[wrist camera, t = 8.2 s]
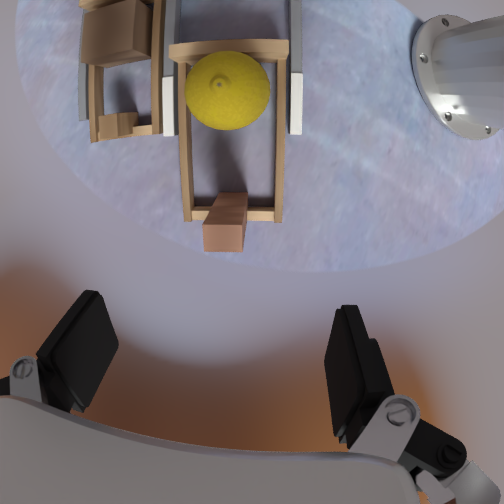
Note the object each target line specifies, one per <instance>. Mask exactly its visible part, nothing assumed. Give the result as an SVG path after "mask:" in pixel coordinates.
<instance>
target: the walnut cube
mask: <svg viewBox="0 0 504 504" xmlns="http://www.w3.org/2000/svg"><path fill="white" fill-rule="evenodd" d="M152 27H153V11H152V10H151V9H150V8H148V7H147V6H146V5H145V4H143V3H142V2H141V1H140V0H125V1H122V2H118V3H115V4H112V5H108V6H105V7H102V8H99V9H96V10H93V11H91V12H88V13H85V14H84V23H83V33H82V45H81V63H85V64H90V65H96V66H101V67H106V68H109V67H113V66H117V65H122V64H126V63H131V62H136V61H141V60H147V59H151V49H152Z"/></svg>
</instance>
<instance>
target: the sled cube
mask: <svg viewBox="0 0 504 504" xmlns="http://www.w3.org/2000/svg"><path fill="white" fill-rule="evenodd" d="M122 1H125V0H79V7H81V8H83V9H86V10H88V11H90V12H91V11H93V10H96V9H99V8H102V7H105V6H108V5H112V4H115V3H118V2H122ZM140 1H141V2H142V3H143V4H150V3H154V11H153V27H152V49H151V114H152V125H144V126H139V123H138V112H128V113H115V114H109V115H104V103H103V67H101V66H96V65H90V64H89V123H90V139H91V143H93V142H98V141H104V140H110V139H117V138H125V137H132V136H141V135H150V134H152V135H153V134H161V133H163V97H162V78H163V72H164V32H165V14H166V0H140Z"/></svg>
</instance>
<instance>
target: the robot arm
mask: <svg viewBox="0 0 504 504" xmlns="http://www.w3.org/2000/svg"><path fill="white" fill-rule="evenodd" d="M412 64H413V71H414V76H415V79H416V83H417V86H418V88H419V91H420V93H421V95H422V98H423V100H424V101H425V103H426V105H427V106H428V108H429V110H430V111H431V112H432V114H433V115H434V116H435V118H436V119H437V120H438V121H439V122H440V123H441V124H442V125H443V126H444V127H445V128H446V129H448V130H449V131H451V132H452V133H454V134H456V135H458V136H460V137H463V138H467V139H471V140H483V139H487V138H489V137H491V136H493V135H494V134H495V133H496V132H497V131H498V130H499V129H502V130H504V15H503V16H498V17H494V18H490V19H485V20H481V21H478V22H473V23H470V22H468V21H467V20H465V19H463V18H460V17H457V16H452V15H439V16H436V17H434V18H431V19H429V20H428V21H426V22H424V23H423V24H422V26H421V27H420V28H419V29H418V31H417V33H416V35H415V37H414V41H413V46H412ZM118 345H119V344H118V339H117V336H116V334H115V331H114V328H113V326H112V323H111V320H110V317H109V314H108V312H107V308H106V306H105V303H104V299H103V297H102V295H100V294H99V292H98V291H93V290H85V291H84V292H83V293H82V294H81V295H80V297H79V298H78V299H77V300H76V301H75V303H74V304H73V305H72V306H71V308H70V309H69V310H68V311H67V313H66V314H65V315H64V316H63V318H62V319H61V320H60V322H59V323H58V324H57V325H56V327H55V328H54V329H53V331H52V332H51V334H50V335H49V336H48V338H47V339H46V340H45V342H44V343H43V344H42V346H41V347H40V349H39V350H38V351H37V353H36V355H37V357H38V359H37V360H35V359H34V358H33V357H31V356H24V357H21V358H19V359H17V360H16V361H15V362H14V363H13V365H12V366H11V369H10V376H8V377H5V378H3V379H0V504H420V500H419V496H418V492H417V491H423V492H424V493H425V494H426V495H427V496H428V497H429V498H428V499H427V500H428V501H429V502H430V503H431V504H499V502H500V497H501V494H500V490H499V488H498V487H497V486H496V485H495V484H494V482H493V481H492V480H491V479H490V478H489V477H488V476H487V475H486V474H485V473H484V472H483V471H482V470H481V469H480V468H479V467H478V466H477V465H476V464H475V463H474V462H473V461H471V462H469V461H468V460H467V459H466V457H467V452H466V448H465V446H464V445H463V443H462V442H460V441H459V440H458V439H456V438H454V437H453V436H451V435H449V434H447V433H445V432H443V431H442V430H440V429H438V428H436V427H434V426H433V425H431V424H429V423H427V422H426V421H424V420H422V419H420V409H419V407H418V405H417V403H416V402H415V401H414V400H413V399H411V398H409V397H407V396H405V395H395V393H394V390H393V387H392V384H391V380H390V377H389V374H388V371H387V368H386V365H385V362H384V359H383V356H382V353H381V350H380V348H379V345H378V342H377V341H376V339H374V338H373V339H369V337H368V334H367V331H366V328H365V325H364V322H363V319H362V317H361V314H360V311H359V309H358V306H357V305H342V306H341V309H337V310H336V313H335V317H334V321H333V325H332V330H331V334H330V338H329V342H328V346H327V350H326V354H325V360H324V366H325V372H326V379H327V386H328V394H329V401H330V409H331V417H332V425H333V433H334V436H335V437H339V443H347V448H348V449H349V451H348V452H266V451H246V450H233V449H222V448H213V447H205V446H198V445H191V444H185V443H178V442H173V441H168V440H163V439H158V438H153V437H148V436H144V435H140V434H136V433H132V432H128V431H124V430H120V429H116V428H113V427H110V426H106V425H103V424H99V423H96V422H93V421H90V420H87V419H84V418H81V417H78V416H76V415H73V414H71V413H70V410H71V408H73V410H76V411H79V412H82V413H83V412H84V410H85V408H86V407H88V406H89V405H90V403H91V401H92V399H93V397H94V395H95V393H96V391H97V389H98V387H99V385H100V383H101V381H102V379H103V376H104V375H105V373H106V370H107V369H108V367H109V365H110V363H111V361H112V359H113V357H114V355H115V353H116V351H117V349H118Z"/></svg>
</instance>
